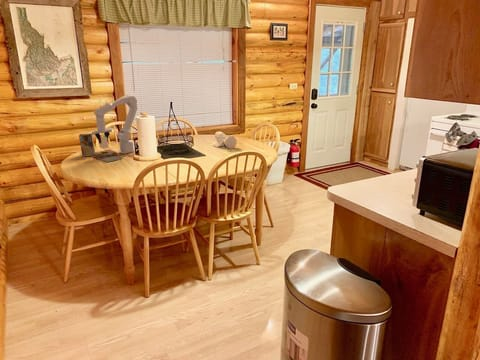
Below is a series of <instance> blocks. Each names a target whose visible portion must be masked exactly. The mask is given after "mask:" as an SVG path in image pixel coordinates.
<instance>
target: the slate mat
mask: <svg viewBox="0 0 480 360" xmlns="http://www.w3.org/2000/svg"><path fill="white" fill-rule="evenodd" d="M100 160H101V161H103V162H104V163H111V162H115V161H121V160H123V158H122V157H120V156H113V157H108V158H103V159H100Z"/></svg>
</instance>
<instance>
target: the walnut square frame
mask: <svg viewBox="0 0 480 360" xmlns="http://www.w3.org/2000/svg"><path fill="white" fill-rule="evenodd" d="M118 155H119V154H118V152H117V151H115V150H112V149H106V150H101V151H95V152H94V153H93V156H92V157H94V158H96V159H98V160H101V159H103V158H108V157H113V156H118ZM118 157H119V156H118Z"/></svg>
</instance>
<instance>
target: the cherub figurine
mask: <svg viewBox="0 0 480 360" xmlns="http://www.w3.org/2000/svg"><path fill="white" fill-rule="evenodd" d="M214 139H215V140H216V141H215V142H213V143H212V146H213V147H215V148H219V147H221V146H223V145H224V146H225V147H226V148H228V149H234V148H235V147H236V146H237V144H238V143H237V142H238V140H237V138H236V136H234V135H227V134H225V133H224V132H222V131H216V132H215V133H214Z"/></svg>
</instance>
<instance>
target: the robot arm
mask: <svg viewBox="0 0 480 360" xmlns="http://www.w3.org/2000/svg"><path fill="white" fill-rule="evenodd" d="M121 104H126V105H127V106H128V108H129V109H128V113H127V114H126V117H125V121H124V123H123V126H122V128H120V131H119V132H117V135H116V136H117V138H118V141H119V149H120V150H118V152H117V153H120V154H123V155H125V154H129V153H133V152H135V150H134V144H133V141H132V140H131V127H132V125H133V122H134V119H135V116H136V114H137V112H138V99H137V98H136V97H135V96H134V95H129V94H125V95H123V96H121V97H120V98H118V99H116V100H115V101H113V102H111V103H110V102H106V103H105V104H103V105H101V106H99V107H96V108H95V109H94V111H93V114H94V116H95V120H96V121H95V122H96V129H97V130H93V131H91V133H92V136H96V139H97V140H98V143H99V145H100V144H101V137H102V135H101V134H103V136H106V137H107V142H108V143H109V136H110V134H111V133H112V132H113V129H112V128H107V127H106V121H105V114H108V113H109V112H111V111H114V108H116V107H117V106H120V105H121Z"/></svg>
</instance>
